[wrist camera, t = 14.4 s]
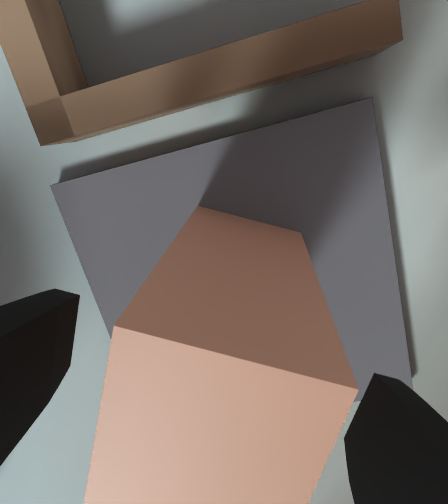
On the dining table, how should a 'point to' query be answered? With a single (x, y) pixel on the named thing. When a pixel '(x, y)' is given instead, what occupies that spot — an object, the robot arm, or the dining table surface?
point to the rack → (173, 66)
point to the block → (222, 374)
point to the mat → (259, 220)
